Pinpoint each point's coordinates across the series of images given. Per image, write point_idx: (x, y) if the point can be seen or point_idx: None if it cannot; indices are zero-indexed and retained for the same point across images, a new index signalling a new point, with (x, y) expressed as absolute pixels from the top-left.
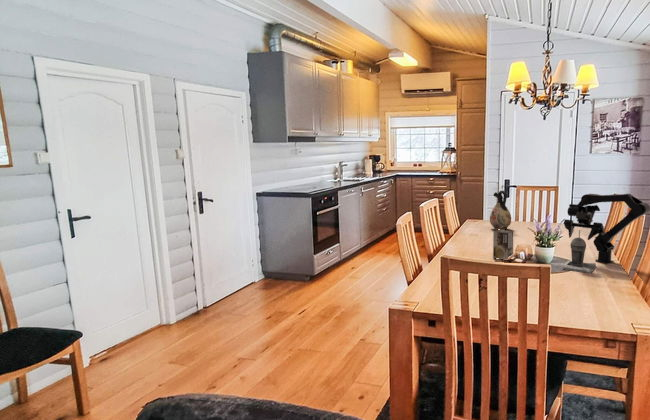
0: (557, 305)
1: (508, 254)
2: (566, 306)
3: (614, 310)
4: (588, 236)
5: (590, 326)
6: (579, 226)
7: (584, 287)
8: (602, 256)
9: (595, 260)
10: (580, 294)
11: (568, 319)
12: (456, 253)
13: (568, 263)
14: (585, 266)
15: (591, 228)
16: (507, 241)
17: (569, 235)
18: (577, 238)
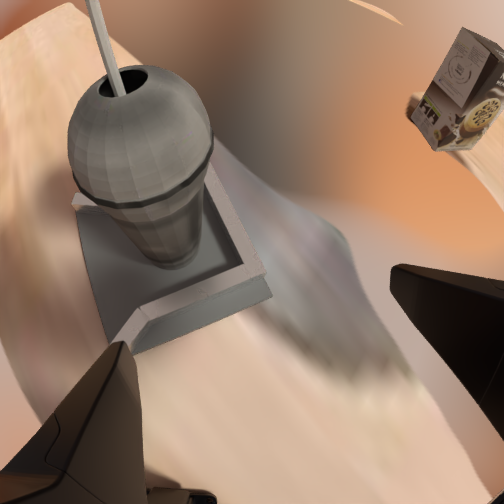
0: (80, 16)
1: (423, 100)
2: (67, 22)
3: (3, 61)
4: (110, 363)
5: (32, 22)
6: (497, 494)
7: (56, 83)
8: (147, 499)
9: (211, 494)
10: (56, 55)
11: (56, 12)
12: (501, 114)
13: (222, 221)
14: (149, 297)
15: (26, 496)
16: (447, 55)
17: (409, 266)
18: (126, 67)
